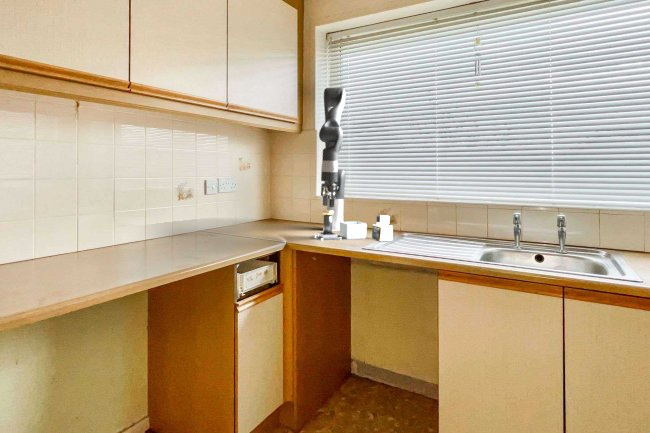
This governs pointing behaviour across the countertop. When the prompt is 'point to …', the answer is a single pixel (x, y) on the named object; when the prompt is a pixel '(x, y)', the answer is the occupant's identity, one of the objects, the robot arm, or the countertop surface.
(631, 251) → the countertop surface
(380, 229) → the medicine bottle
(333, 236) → the mount
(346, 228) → the bin
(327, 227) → the black and gold cylinder
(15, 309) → the countertop surface
